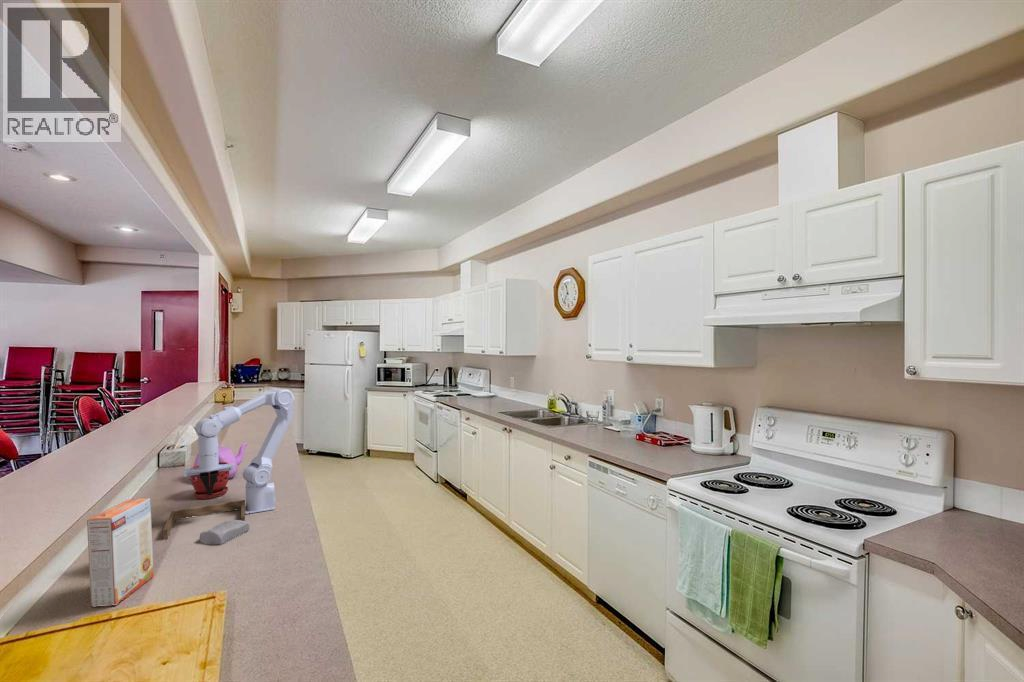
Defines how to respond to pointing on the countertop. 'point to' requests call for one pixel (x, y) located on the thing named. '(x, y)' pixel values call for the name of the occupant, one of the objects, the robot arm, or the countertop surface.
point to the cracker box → (120, 551)
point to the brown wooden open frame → (203, 513)
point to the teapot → (228, 457)
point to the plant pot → (218, 486)
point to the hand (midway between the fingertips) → (209, 494)
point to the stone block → (224, 532)
